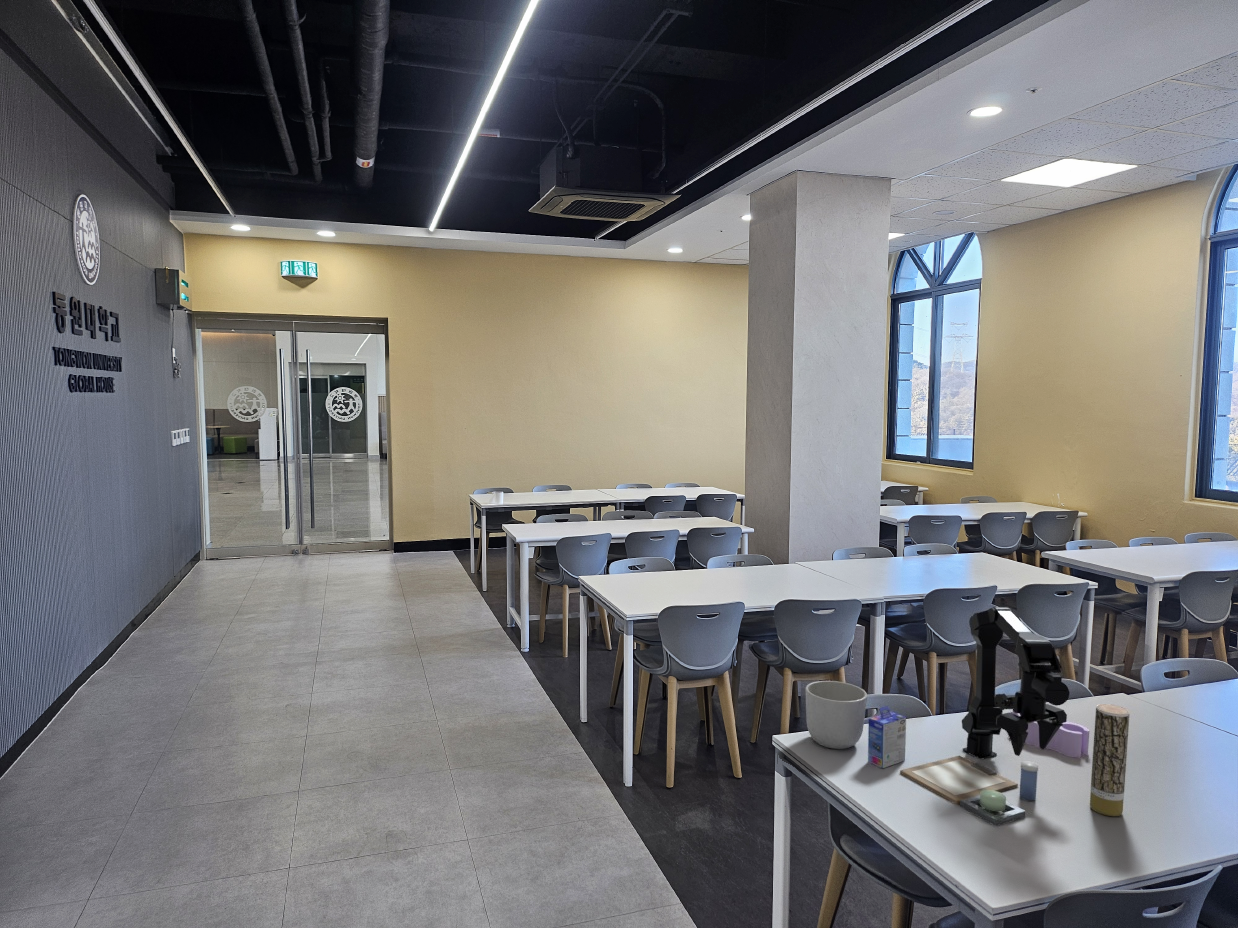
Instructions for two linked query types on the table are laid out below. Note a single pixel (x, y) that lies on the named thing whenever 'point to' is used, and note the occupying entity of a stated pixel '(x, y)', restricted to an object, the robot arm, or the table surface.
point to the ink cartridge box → (886, 738)
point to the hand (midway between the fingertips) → (1029, 751)
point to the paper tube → (1109, 759)
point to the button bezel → (996, 820)
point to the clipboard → (957, 778)
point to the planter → (835, 713)
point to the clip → (1062, 738)
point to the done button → (992, 800)
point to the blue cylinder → (1028, 780)
